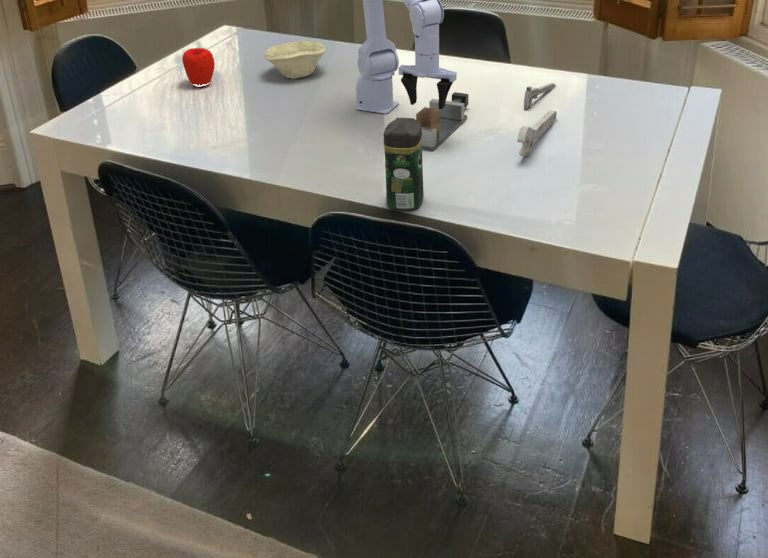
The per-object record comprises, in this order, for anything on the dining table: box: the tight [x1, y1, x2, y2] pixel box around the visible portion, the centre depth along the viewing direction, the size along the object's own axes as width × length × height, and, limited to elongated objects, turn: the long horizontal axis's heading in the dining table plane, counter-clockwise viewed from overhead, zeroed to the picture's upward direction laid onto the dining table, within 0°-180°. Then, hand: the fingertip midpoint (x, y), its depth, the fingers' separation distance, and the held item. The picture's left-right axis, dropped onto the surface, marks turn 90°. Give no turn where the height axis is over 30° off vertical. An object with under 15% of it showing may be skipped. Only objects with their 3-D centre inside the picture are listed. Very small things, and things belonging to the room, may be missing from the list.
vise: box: [422, 114, 468, 152], centre depth 235 cm, size 9×22×5 cm, turn 154°
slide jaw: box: [428, 91, 469, 120], centre depth 244 cm, size 9×11×4 cm
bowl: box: [263, 40, 327, 80], centre depth 273 cm, size 14×18×15 cm
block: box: [415, 106, 439, 133], centre depth 231 cm, size 4×5×6 cm
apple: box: [181, 47, 216, 85], centre depth 269 cm, size 9×9×11 cm
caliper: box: [523, 82, 557, 111], centre depth 252 cm, size 20×1×6 cm, turn 149°
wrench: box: [516, 109, 557, 157], centre depth 227 cm, size 8×2×30 cm
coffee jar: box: [383, 117, 425, 212], centre depth 199 cm, size 10×8×19 cm
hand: (427, 105), depth 228 cm, fingers open, 7 cm apart
